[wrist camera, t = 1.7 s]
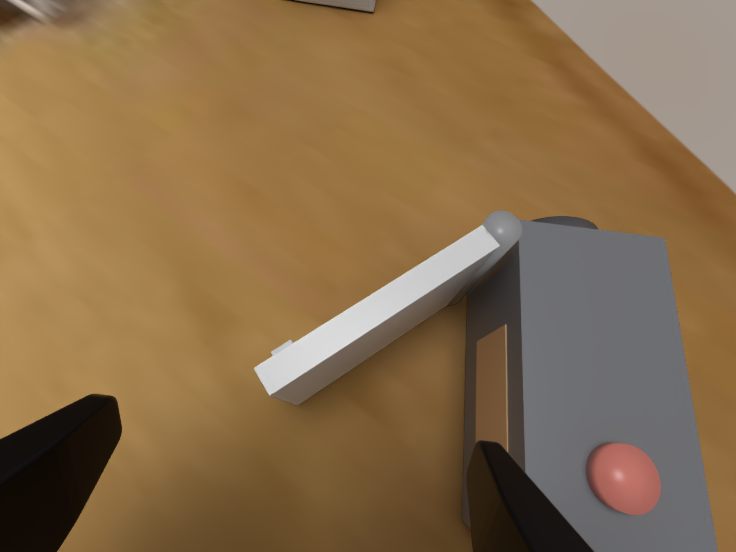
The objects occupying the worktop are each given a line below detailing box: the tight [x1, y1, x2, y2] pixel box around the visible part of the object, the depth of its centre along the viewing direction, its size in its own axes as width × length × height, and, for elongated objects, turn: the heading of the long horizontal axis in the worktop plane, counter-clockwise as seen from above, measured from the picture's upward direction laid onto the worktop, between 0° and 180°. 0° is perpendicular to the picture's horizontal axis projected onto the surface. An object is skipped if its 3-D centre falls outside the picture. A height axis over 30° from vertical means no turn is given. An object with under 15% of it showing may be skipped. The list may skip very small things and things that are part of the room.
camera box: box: [462, 216, 718, 552], centre depth 17 cm, size 13×6×8 cm, turn 174°
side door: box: [254, 211, 522, 406], centre depth 17 cm, size 11×2×8 cm, turn 124°
